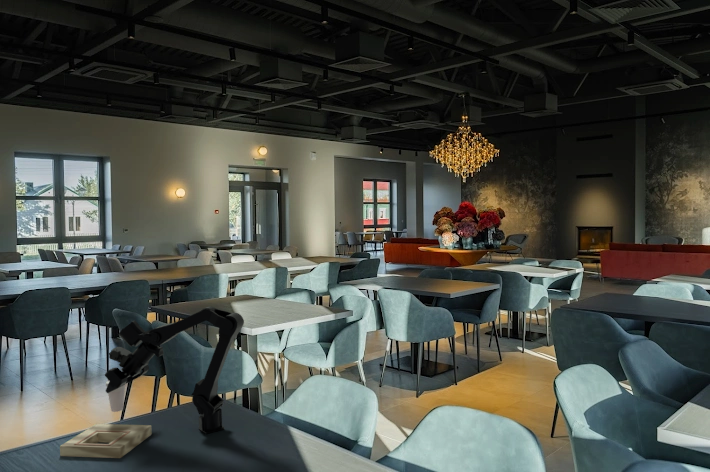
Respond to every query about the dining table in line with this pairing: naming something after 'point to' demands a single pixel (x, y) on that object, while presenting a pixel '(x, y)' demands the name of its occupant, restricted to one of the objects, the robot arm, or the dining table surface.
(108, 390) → the robot arm
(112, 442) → the socket board
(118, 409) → the smoothie
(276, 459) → the dining table surface
